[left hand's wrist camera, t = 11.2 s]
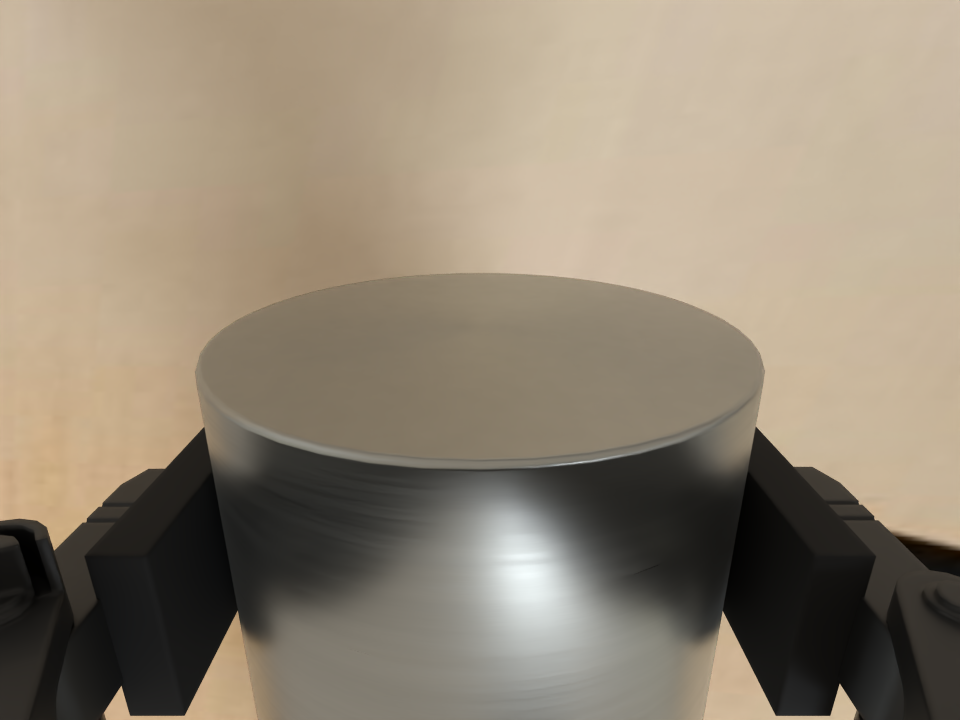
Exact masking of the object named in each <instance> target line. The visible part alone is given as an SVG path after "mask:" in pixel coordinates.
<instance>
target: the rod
mask: <svg viewBox="0 0 960 720" xmlns="http://www.w3.org/2000/svg"><path fill="white" fill-rule="evenodd" d="M764 373H765V370H764V366H763V363H762V359H761V356H760V353H759V351H758V350H757V348H756V347H755V346H754V344H753V343H752V341H751V340H750V339H749V338H747V337H746V336H745V335H744V334H743V333H742V332H741V331H740V330H738V329H737V328H735V327H734V326H732V325H731V324H729V323H728V322H726V321H725V320H723V319H721V318H719V317H717V316H715V315H713V314H711V313H709V312H707V311H704V310H702V309H699V308H697V307H694V306H692V305H689V304H687V303H684V302H681V301H678V300H675V299H672V298H669V297H666V296H662V295H658V294H654V293H651V292H647V291H643V290H638V289H634V288H629V287H625V286H620V285H614V284H608V283H602V282H596V281H589V280H581V279H574V278H564V277H554V276H542V275H528V274H503V273H461V274H435V275H421V276H408V277H398V278H389V279H381V280H373V281H366V282H360V283H354V284H348V285H343V286H337V287H333V288H328V289H324V290H319V291H315V292H311V293H307V294H304V295H300V296H296V297H293V298H290V299H287V300H284V301H281V302H278V303H275V304H272V305H270V306H267V307H265V308H262V309H260V310H257V311H255V312H253V313H251V314H249V315H247V316H245V317H243V318H241V319H239V320H237V321H235V322H233V323H232V324H230V325H229V326H227V327H226V328H224V329H223V330H221V331H220V332H219V333H218V334H217V335H216V336H214V337H213V338H212V339H211V340H210V341H209V342H208V343H207V345H206V346H205V348H204V349H203V351H202V352H201V353H200V356H199V360H198V363H197V367H196V371H195V375H196V383H197V389H198V395H199V400H200V405H201V411H202V416H203V422H204V427H205V433H206V438H207V444H208V449H209V455H210V460H211V466H212V471H213V477H214V482H215V488H216V493H217V499H218V504H219V509H220V515H221V520H222V526H223V531H224V537H225V542H226V548H227V553H228V559H229V564H230V570H231V575H232V581H233V586H234V592H235V597H236V603H237V608H238V614H239V619H240V624H241V630H242V635H243V641H244V646H245V652H246V657H247V663H248V668H249V674H250V679H251V685H252V690H253V696H254V701H255V707H256V712H257V718H258V720H703V717H704V711H705V706H706V700H707V695H708V689H709V684H710V678H711V672H712V667H713V661H714V656H715V650H716V644H717V639H718V633H719V628H720V622H721V617H722V611H723V605H724V600H725V594H726V589H727V583H728V578H729V572H730V566H731V561H732V555H733V550H734V544H735V538H736V533H737V527H738V522H739V516H740V511H741V505H742V499H743V494H744V488H745V483H746V477H747V472H748V466H749V460H750V455H751V449H752V444H753V438H754V432H755V427H756V421H757V416H758V410H759V405H760V399H761V393H762V388H763V381H764Z"/></svg>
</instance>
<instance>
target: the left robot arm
mask: <svg viewBox="0 0 960 720" xmlns="http://www.w3.org/2000/svg"><path fill="white" fill-rule="evenodd" d="M237 611H238V608H237V603H236V597H235V592H234V586H233V581H232V575H231V570H230V564H229V559H228V553H227V548H226V542H225V537H224V531H223V526H222V520H221V515H220V509H219V504H218V499H217V493H216V488H215V482H214V477H213V471H212V466H211V460H210V455H209V449H208V444H207V438H206V433H205V427H204V428H203V429H202V430H201V431H200V432H199V433H198V434H197V435H196V436H195V437H194V439H193V440H192V441H191V442H190V443H189V444H188V445H187V446H186V447H185V448H184V449H183V450H182V451H181V453H180V454H179V455H178V456H177V457H176V458H175V459H174V460H173V461H172V462H171V463H170V464H169V465H168V466H167V468H166V469H148V470H146V471H144V472H142V473H141V474H139V475H137V476H136V477H134V478H132V479H130V480H129V481H127V482H125V483H123V484H122V485H120V486H119V487H118V488H117V489H116V490H115V491H114V492H113V493H112V494H111V495H110V496H109V497H108V498H107V499H106V500H105V501H104V502H103V505H102V507H98V508H97V509H96V510H95V511H94V512H93V513H92V514H91V515H90V516H89V517H88V518H87V522H86V523H82V524H81V525H80V526H79V527H78V528H77V529H76V530H75V531H74V532H73V533H72V534H71V535H70V536H69V537H68V538H67V539H66V540H65V541H64V542H63V543H62V544H61V545H60V546H59V547H58V548H57V549H56V550H55V551H54V550H53V546H52V543H51V540H50V537H49V533H48V530H47V527H45V526H44V525H42V524H41V523H39V522H38V521H34V520H26V519H13V520H5V521H0V720H106V718H105V715H104V712H105V710H106V708H107V707H108V705H109V704H110V702H111V701H112V699H113V698H114V696H115V694H116V693H117V691H118V690H119V688H120V687H121V685H122V689H123V692H124V696H125V699H126V703H127V706H128V710H129V713H130V716H185V714H186V712H187V710H188V708H189V706H190V704H191V702H192V700H193V698H194V696H195V694H196V692H197V690H198V688H199V686H200V684H201V682H202V680H203V678H204V676H205V674H206V672H207V670H208V668H209V666H210V664H211V662H212V660H213V658H214V656H215V654H216V652H217V650H218V648H219V646H220V644H221V642H222V640H223V638H224V636H225V634H226V633H227V631H228V629H229V627H230V625H231V623H232V621H233V619H234V617H235V615H236V613H237ZM723 612H724V614H725V616H726V618H727V620H728V622H729V624H730V626H731V628H732V630H733V632H734V634H735V636H736V638H737V640H738V642H739V644H740V646H741V648H742V649H743V651H744V653H745V655H746V657H747V659H748V661H749V663H750V665H751V667H752V669H753V671H754V673H755V675H756V677H757V679H758V681H759V683H760V685H761V687H762V689H763V691H764V693H765V695H766V697H767V699H768V701H769V703H770V705H771V707H772V709H773V711H774V713H775V715H776V716H830V715H831V711H832V708H833V704H834V701H835V698H836V694H837V691H838V687H839V684H841V686H842V687H843V689H844V691H845V692H846V694H847V695H848V697H849V698H850V700H851V701H852V703H853V704H854V706H855V707H856V709H857V711H856V715H855V718H854V720H960V577H957V576H954V575H951V574H948V573H944V572H937V571H929V570H928V569H927V568H926V567H925V566H924V565H923V564H922V563H921V562H920V561H919V560H918V559H917V558H916V557H915V556H914V555H913V554H912V553H911V552H910V551H909V550H908V549H907V548H906V547H905V546H904V545H903V544H902V543H901V542H900V541H899V540H898V539H897V538H896V537H895V536H894V535H893V534H892V533H891V532H890V531H889V530H888V529H887V528H886V527H884V526H883V525H882V524H881V523H880V522H879V521H878V520H874V516H873V515H872V514H871V513H870V512H869V511H868V510H867V509H866V508H865V507H864V506H863V505H859V503H858V500H857V499H856V498H855V497H854V496H853V495H852V494H851V493H850V492H849V491H848V490H847V489H846V488H845V487H844V486H843V485H842V484H841V483H839V482H838V481H836V480H834V479H832V478H831V477H829V476H827V475H825V474H824V473H822V472H820V471H818V470H817V469H815V468H813V467H793V466H792V465H791V464H790V463H789V462H788V461H787V460H786V458H785V457H784V456H783V455H782V454H781V453H780V452H779V451H778V450H777V449H776V448H775V447H774V446H773V445H772V443H771V442H770V441H769V440H768V439H767V438H766V437H765V436H764V435H763V434H762V433H761V432H760V431H759V429H758V428H757V427H755V432H754V438H753V444H752V449H751V455H750V460H749V466H748V472H747V477H746V483H745V488H744V494H743V499H742V505H741V511H740V516H739V522H738V527H737V533H736V538H735V544H734V550H733V555H732V561H731V566H730V572H729V578H728V583H727V589H726V594H725V600H724V605H723Z"/></svg>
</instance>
